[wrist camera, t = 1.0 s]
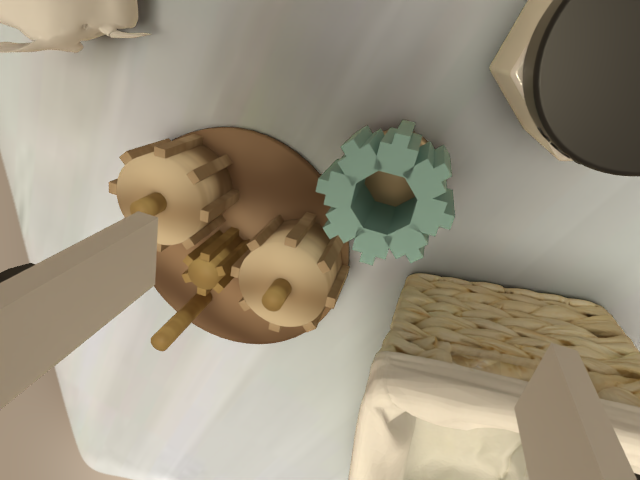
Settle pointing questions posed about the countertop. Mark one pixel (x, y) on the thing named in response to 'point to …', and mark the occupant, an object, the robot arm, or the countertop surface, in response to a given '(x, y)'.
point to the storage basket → (480, 379)
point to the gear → (378, 218)
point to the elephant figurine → (66, 22)
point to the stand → (389, 186)
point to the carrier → (235, 234)
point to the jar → (577, 80)
